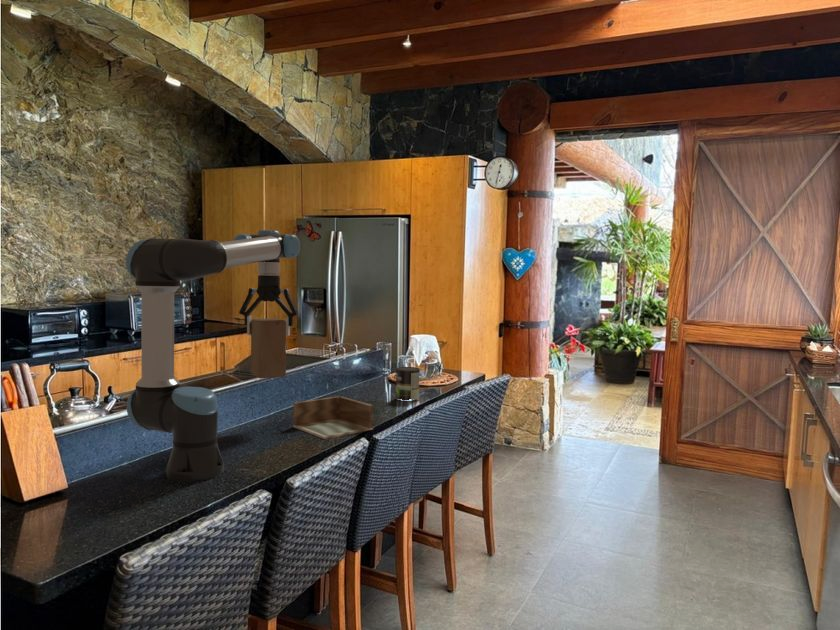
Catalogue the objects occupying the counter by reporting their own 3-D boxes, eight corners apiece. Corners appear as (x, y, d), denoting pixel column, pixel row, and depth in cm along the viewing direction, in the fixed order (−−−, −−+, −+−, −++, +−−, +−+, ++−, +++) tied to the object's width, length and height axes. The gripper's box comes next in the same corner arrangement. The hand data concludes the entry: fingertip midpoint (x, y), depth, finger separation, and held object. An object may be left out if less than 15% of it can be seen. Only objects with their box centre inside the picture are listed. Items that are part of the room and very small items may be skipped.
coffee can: (399, 404, 269) (399, 370, 268) (392, 399, 279) (393, 366, 278) (422, 402, 272) (422, 370, 271) (415, 398, 282) (415, 366, 281)
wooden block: (286, 377, 224) (287, 320, 223) (258, 379, 219) (258, 320, 218) (277, 373, 233) (277, 318, 232) (250, 374, 228) (250, 318, 226)
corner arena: (325, 439, 212) (325, 413, 211) (293, 427, 227) (293, 402, 226) (372, 430, 225) (373, 405, 225) (340, 419, 240) (340, 395, 240)
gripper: (306, 275, 227) (306, 334, 229) (237, 274, 228) (237, 333, 230) (301, 275, 220) (301, 337, 221) (229, 274, 221) (230, 335, 222)
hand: (268, 335), depth 226 cm, fingers closed on wooden block, 13 cm apart
